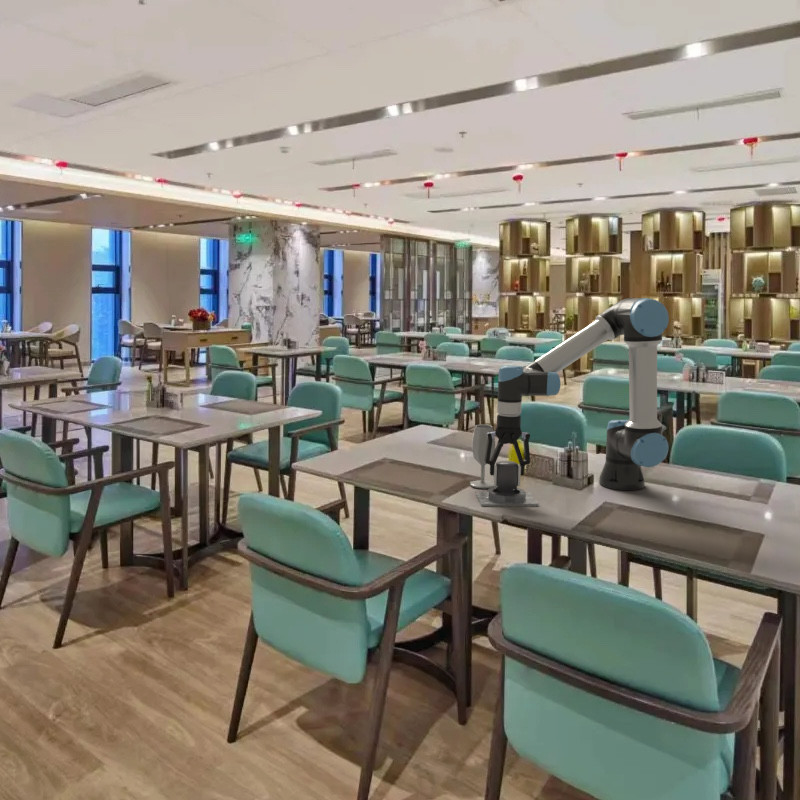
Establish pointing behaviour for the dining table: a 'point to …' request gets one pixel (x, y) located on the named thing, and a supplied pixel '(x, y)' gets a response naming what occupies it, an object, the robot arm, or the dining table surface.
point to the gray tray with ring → (506, 498)
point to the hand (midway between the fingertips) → (506, 485)
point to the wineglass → (481, 453)
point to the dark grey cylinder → (507, 476)
